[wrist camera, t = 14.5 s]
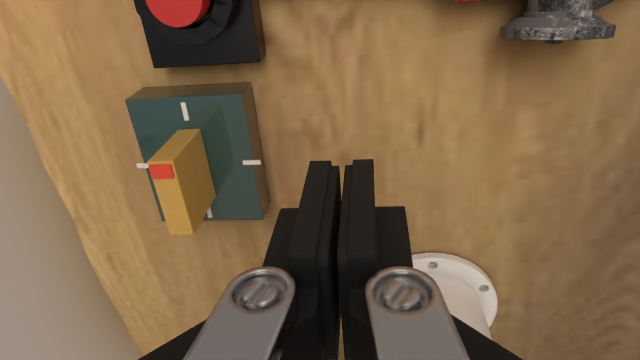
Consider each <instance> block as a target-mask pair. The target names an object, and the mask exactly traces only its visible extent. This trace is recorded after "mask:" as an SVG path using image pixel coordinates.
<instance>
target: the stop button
mask: <svg viewBox="0 0 640 360" xmlns="http://www.w3.org/2000/svg"><path fill="white" fill-rule="evenodd" d="M146 3H147V5H148V7H149V9H150V11H151V12H152V14H153V15H154V16H155V17H156V18H157V19H158V20H159V21H161V22H162V23H164V24H166V25H168V26H171V27H185V26H188V25H190V24H192V23H194V22H196V21H198V20H199V19H201V18H202V17H203V16H204V15H205V14H206V12H207V11H208V8H209V5H210V0H146Z"/></svg>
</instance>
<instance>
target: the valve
mask: <svg viewBox="0 0 640 360" xmlns="http://www.w3.org/2000/svg"><path fill="white" fill-rule="evenodd" d="M454 1H479V0H454ZM613 1H614V0H528V5H527V12H523V17H517V18H516V19H515V20H513V21H512V22H511V23H509V24H508V25H506V26H501V32H500V37H501V38H509V39H527V40H543V41H545V42H546V43H548V44H559V43H561V42H563V41H564V40H589V39H606V38H613V37H614V34H615V29H616V25H611V24H609V23H607V22H606V21H605V20H604V19H603V18H602V17H601V16H594V13H595V11H596V10H598V9H599V8H601V7H603V6H605V5H607V4H609V3H611V2H613Z"/></svg>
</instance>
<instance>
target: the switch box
mask: <svg viewBox="0 0 640 360" xmlns="http://www.w3.org/2000/svg"><path fill="white" fill-rule="evenodd" d="M134 3H135V7H136V11H137V13H138V14H139V15H140V17H141V20H142V24H143V28H144V31H145V35H146V39H147V43H148V47H149V50H150V54H151V58H152V62H153V66H154V68H166V67H183V66H201V65H218V64H235V63H252V62H260V61H261V60H262V59H263V58H264V56H265V55H266V51H265V44H264V37H263V29H262V22H261V15H260V7H259V0H210V5H209V8H208V11H207V12H206V14H205V15H204V16H203V17H202V18H201V19H199V20H198V21H196V22H194V23H192V24H190V25H188V26H185V27H171V26H168V25H166V24H164V23H162V22H161V21H159V20H158V19H157V18H156V17H155V16H154V15H153V14H152V12H151V11H150V9H149V7H148V5H147V3H146V0H134Z"/></svg>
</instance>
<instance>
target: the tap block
mask: <svg viewBox="0 0 640 360" xmlns="http://www.w3.org/2000/svg"><path fill="white" fill-rule="evenodd" d="M125 101H126V105H127V108H128V111H129V114H130V118H131V121H132V124H133V127H134V131H135V134H136V137H137V140H138V144H139V147H140V150H141V154H142V157H143V160H144V163H137V164H136V165H137V168H146V170H147V173H148V176H149V180H150V183H151V186H152V190H153V193H154V196H155V199H156V203H157V206H158V209H159V212H160V216H161V219H162V221H166V220H165V217H164V214H163V211H162V208H161V205H160V201H159V198H158V195H157V192H156V189H155V186H154V183H153V179H152V177H151V174H150V171H149V167H148V164H147V162H148V161H149V160H150V158H151V157H152V156H153V155H154V154H155V153H156V152H157V151H158V150H159V149H160V148H161V147H162V146H163V145H164V144H165V143H166V142H167V141H168V140H169V139H170V138H171V137H172V135H173V134H174V133H175V132H176V131H177V130H182V129H200V131H201V135H202V139H203V143H204V147H205V151H206V155H207V160H208V164H209V168H210V172H211V176H212V180H213V185H214V189H215V193H216V197H215V199H214V200H213V202H212V204H211V206H210V207H209V209H208V211H207V213H206V214H205V216H204V218H203V220H263V218H264V215H265V213H266V210H267V207H268V204H269V202H270V200H269V193H268V187H267V181H266V174H265V168H264V162H263V155H262V149H261V143H260V137H259V130H258V124H257V118H256V111H255V105H254V99H253V93H252V86H251V82H242V83H223V84H204V85H185V86H166V87H147V88H142V89H140V90H139V91H137V92H136V93H134V94H133V95H132V96H130V97H129V98H127V99H126V100H125ZM203 220H202V221H203Z"/></svg>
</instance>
